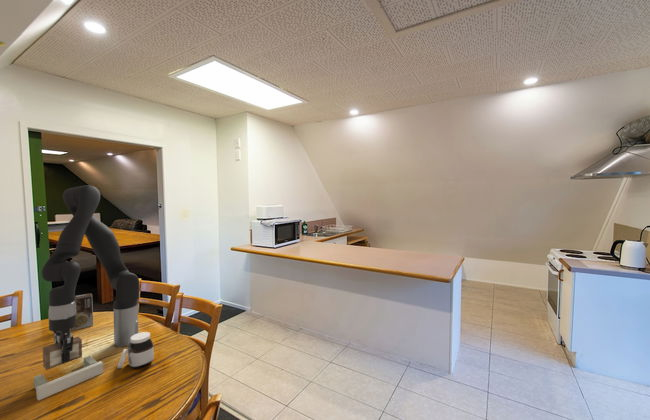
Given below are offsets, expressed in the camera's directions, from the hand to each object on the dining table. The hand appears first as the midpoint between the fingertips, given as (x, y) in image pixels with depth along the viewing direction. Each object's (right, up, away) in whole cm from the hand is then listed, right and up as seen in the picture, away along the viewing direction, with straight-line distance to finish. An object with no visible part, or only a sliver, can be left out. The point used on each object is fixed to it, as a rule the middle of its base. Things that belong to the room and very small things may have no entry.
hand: (63, 359), depth 105 cm
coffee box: (-30, -5, +42) cm, 52 cm away
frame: (0, -1, 0) cm, 1 cm away
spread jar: (+21, -7, +9) cm, 24 cm away
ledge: (+3, -7, -1) cm, 8 cm away
